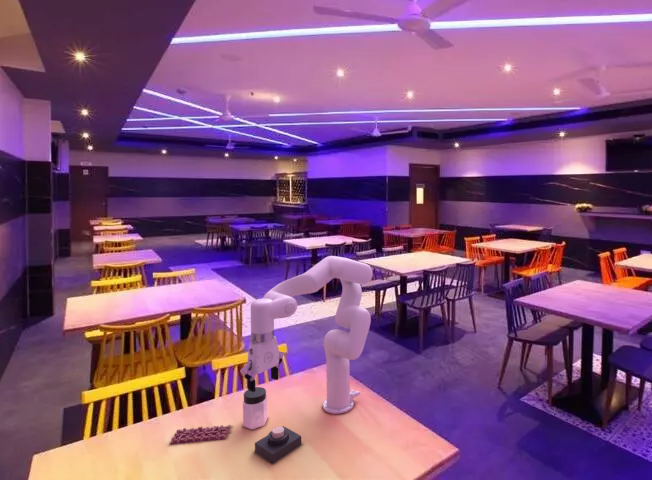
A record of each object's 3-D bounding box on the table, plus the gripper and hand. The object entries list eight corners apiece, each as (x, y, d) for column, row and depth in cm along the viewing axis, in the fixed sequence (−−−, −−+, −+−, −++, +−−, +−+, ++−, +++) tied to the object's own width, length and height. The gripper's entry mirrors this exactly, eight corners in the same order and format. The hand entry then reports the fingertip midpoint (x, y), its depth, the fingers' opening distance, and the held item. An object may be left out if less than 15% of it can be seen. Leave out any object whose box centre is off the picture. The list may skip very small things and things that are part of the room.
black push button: (283, 434, 146) (283, 421, 146) (301, 444, 140) (301, 430, 140) (254, 452, 137) (254, 437, 136) (273, 463, 131) (272, 449, 130)
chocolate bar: (227, 439, 144) (227, 434, 144) (170, 445, 141) (170, 439, 141) (232, 427, 151) (232, 422, 151) (178, 432, 148) (178, 427, 148)
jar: (245, 432, 148) (245, 400, 147) (240, 421, 154) (240, 391, 154) (270, 424, 152) (269, 393, 152) (264, 414, 159) (263, 384, 159)
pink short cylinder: (279, 430, 141) (279, 424, 141) (286, 434, 139) (286, 428, 139) (269, 436, 138) (269, 430, 138) (277, 440, 135) (277, 434, 135)
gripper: (248, 346, 127) (249, 399, 128) (289, 330, 142) (290, 377, 142) (233, 341, 131) (234, 392, 132) (275, 326, 146) (276, 372, 146)
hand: (263, 384), depth 137 cm, fingers open, 9 cm apart
